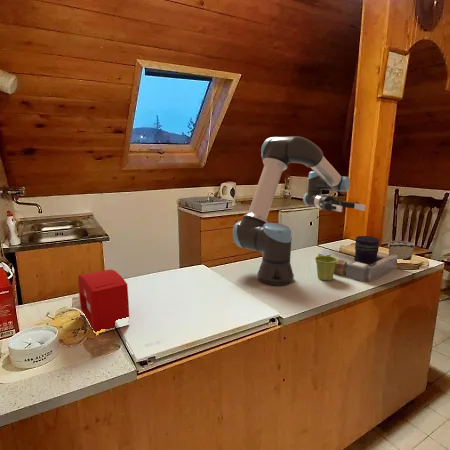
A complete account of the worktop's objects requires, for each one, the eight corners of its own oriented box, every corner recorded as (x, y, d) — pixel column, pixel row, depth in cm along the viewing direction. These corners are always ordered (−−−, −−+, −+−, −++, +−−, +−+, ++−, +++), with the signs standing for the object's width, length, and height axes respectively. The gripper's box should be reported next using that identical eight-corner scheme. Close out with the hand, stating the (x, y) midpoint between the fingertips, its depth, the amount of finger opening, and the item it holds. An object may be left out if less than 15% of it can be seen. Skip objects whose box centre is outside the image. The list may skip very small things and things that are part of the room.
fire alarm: (81, 315, 114) (76, 272, 110) (113, 307, 120) (110, 266, 116) (94, 337, 101) (90, 289, 97) (130, 326, 107) (127, 281, 103)
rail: (365, 280, 144) (367, 265, 143) (391, 267, 160) (393, 254, 159) (370, 281, 143) (371, 267, 141) (396, 268, 159) (397, 255, 157)
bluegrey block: (317, 265, 162) (318, 253, 161) (323, 264, 164) (324, 252, 163) (323, 268, 159) (324, 255, 158) (330, 266, 161) (330, 254, 160)
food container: (407, 260, 171) (410, 240, 168) (413, 264, 165) (415, 244, 162) (382, 259, 172) (384, 240, 170) (386, 263, 166) (388, 243, 164)
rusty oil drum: (356, 265, 163) (359, 234, 160) (378, 269, 157) (381, 238, 154) (350, 271, 155) (353, 239, 152) (373, 275, 149) (376, 242, 146)
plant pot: (308, 277, 148) (310, 258, 146) (322, 272, 153) (324, 254, 151) (327, 284, 140) (328, 263, 138) (340, 279, 146) (342, 259, 144)
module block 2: (367, 266, 162) (369, 254, 160) (375, 262, 167) (377, 251, 165) (384, 270, 156) (386, 258, 154) (392, 266, 161) (393, 255, 160)
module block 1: (345, 276, 149) (346, 263, 147) (353, 272, 153) (354, 260, 152) (363, 281, 143) (364, 268, 142) (371, 277, 147) (372, 264, 146)
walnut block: (331, 273, 153) (331, 262, 152) (334, 269, 158) (335, 259, 156) (342, 275, 150) (343, 264, 149) (346, 271, 155) (347, 261, 154)
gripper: (343, 208, 185) (373, 215, 166) (304, 210, 176) (330, 217, 157) (344, 194, 184) (374, 199, 164) (305, 195, 175) (332, 201, 155)
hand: (353, 208), depth 160 cm, fingers open, 13 cm apart
